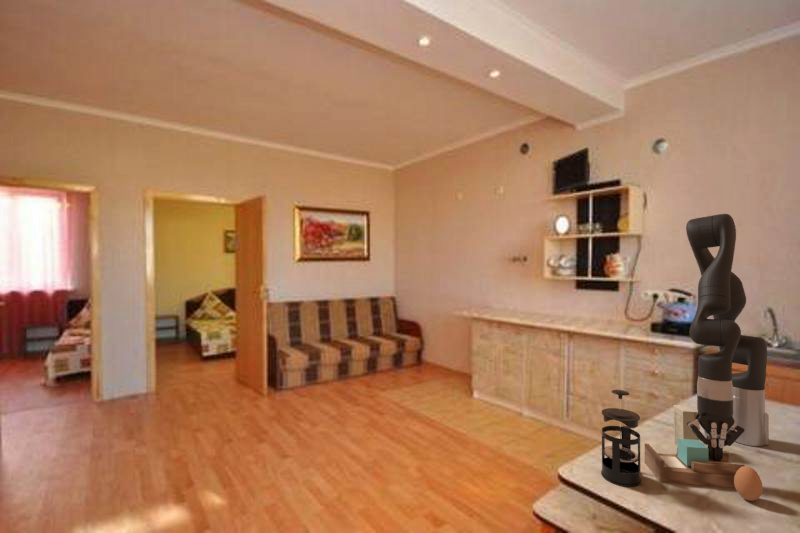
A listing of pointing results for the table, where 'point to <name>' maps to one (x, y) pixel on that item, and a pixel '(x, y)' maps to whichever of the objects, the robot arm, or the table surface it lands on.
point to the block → (692, 451)
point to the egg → (748, 483)
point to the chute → (691, 469)
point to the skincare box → (683, 423)
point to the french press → (620, 455)
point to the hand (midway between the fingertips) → (715, 459)
